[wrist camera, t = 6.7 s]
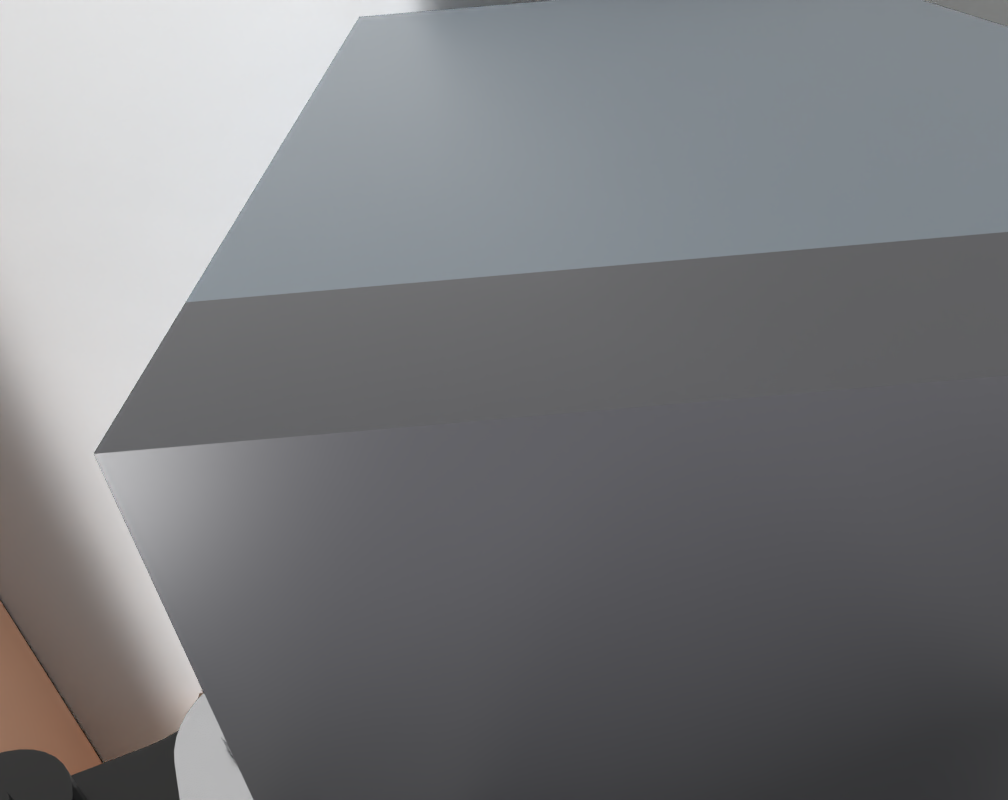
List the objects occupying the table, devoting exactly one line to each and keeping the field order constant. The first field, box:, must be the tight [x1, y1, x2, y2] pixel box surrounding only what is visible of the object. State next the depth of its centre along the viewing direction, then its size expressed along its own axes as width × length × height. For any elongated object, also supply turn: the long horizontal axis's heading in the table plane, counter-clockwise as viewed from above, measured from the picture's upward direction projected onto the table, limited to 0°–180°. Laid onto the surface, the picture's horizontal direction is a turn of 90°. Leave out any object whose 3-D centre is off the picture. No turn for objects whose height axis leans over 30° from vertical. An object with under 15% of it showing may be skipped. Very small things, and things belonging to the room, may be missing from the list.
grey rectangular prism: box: [94, 0, 1008, 800], centre depth 9 cm, size 10×6×8 cm, turn 4°
